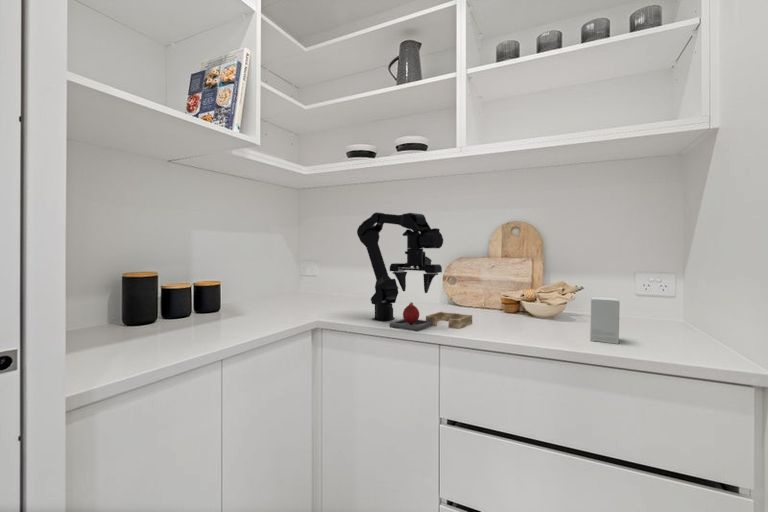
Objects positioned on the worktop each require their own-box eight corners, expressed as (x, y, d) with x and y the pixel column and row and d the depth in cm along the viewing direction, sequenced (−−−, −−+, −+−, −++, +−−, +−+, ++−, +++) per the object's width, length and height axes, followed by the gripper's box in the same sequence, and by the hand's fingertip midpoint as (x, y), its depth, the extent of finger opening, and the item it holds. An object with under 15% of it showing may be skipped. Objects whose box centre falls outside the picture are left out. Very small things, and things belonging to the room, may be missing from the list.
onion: (418, 327, 125) (418, 304, 125) (401, 326, 127) (401, 303, 127) (420, 323, 131) (420, 301, 131) (404, 322, 132) (404, 300, 132)
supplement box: (619, 344, 105) (619, 300, 105) (589, 340, 109) (590, 298, 109) (618, 339, 111) (619, 297, 111) (590, 336, 115) (591, 296, 115)
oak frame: (425, 324, 132) (425, 316, 132) (440, 319, 142) (440, 311, 142) (459, 328, 125) (459, 320, 125) (472, 323, 135) (472, 315, 135)
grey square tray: (389, 327, 127) (389, 322, 127) (406, 322, 136) (406, 318, 136) (417, 331, 121) (417, 326, 121) (432, 325, 130) (432, 321, 130)
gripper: (449, 248, 131) (448, 292, 131) (405, 248, 142) (405, 288, 142) (434, 248, 122) (433, 294, 122) (388, 248, 133) (388, 291, 133)
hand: (414, 292), depth 130 cm, fingers open, 9 cm apart
